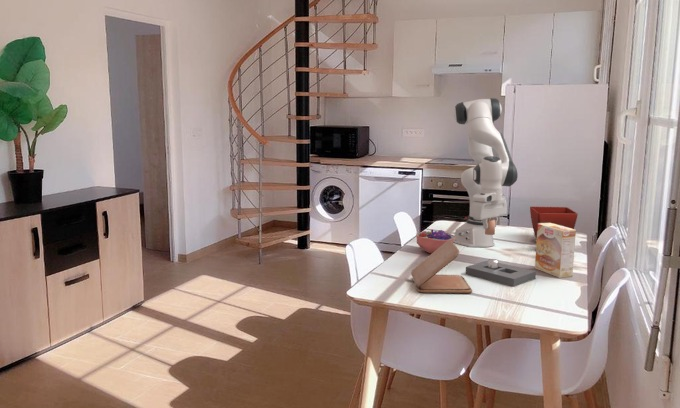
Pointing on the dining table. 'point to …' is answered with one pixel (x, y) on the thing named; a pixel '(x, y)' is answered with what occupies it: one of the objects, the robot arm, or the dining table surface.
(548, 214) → the plant pot
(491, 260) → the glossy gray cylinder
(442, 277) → the case
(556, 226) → the coffeecake box
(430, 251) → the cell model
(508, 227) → the dining table surface
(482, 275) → the housing
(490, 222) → the tan oval egg shape
